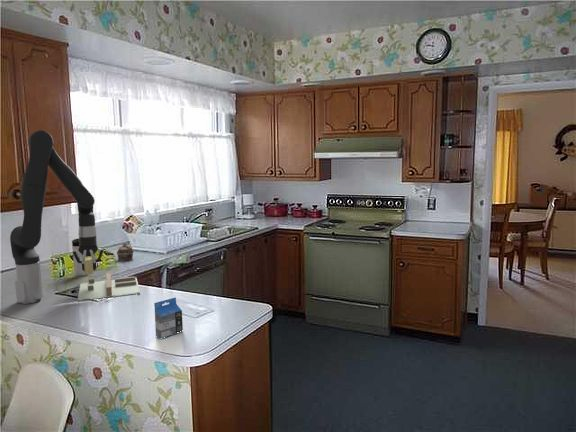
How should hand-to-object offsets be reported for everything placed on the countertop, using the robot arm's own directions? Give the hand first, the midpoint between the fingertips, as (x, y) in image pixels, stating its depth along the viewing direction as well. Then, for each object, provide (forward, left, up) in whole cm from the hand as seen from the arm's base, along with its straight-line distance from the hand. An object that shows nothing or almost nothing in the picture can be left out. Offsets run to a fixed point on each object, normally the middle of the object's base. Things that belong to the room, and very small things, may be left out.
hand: (89, 270), depth 209 cm
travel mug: (+13, +24, -9) cm, 29 cm away
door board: (+3, -9, -9) cm, 13 cm away
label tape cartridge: (-24, -71, -9) cm, 76 cm away
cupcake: (+49, +31, -9) cm, 59 cm away
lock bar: (0, 0, 0) cm, 0 cm away
